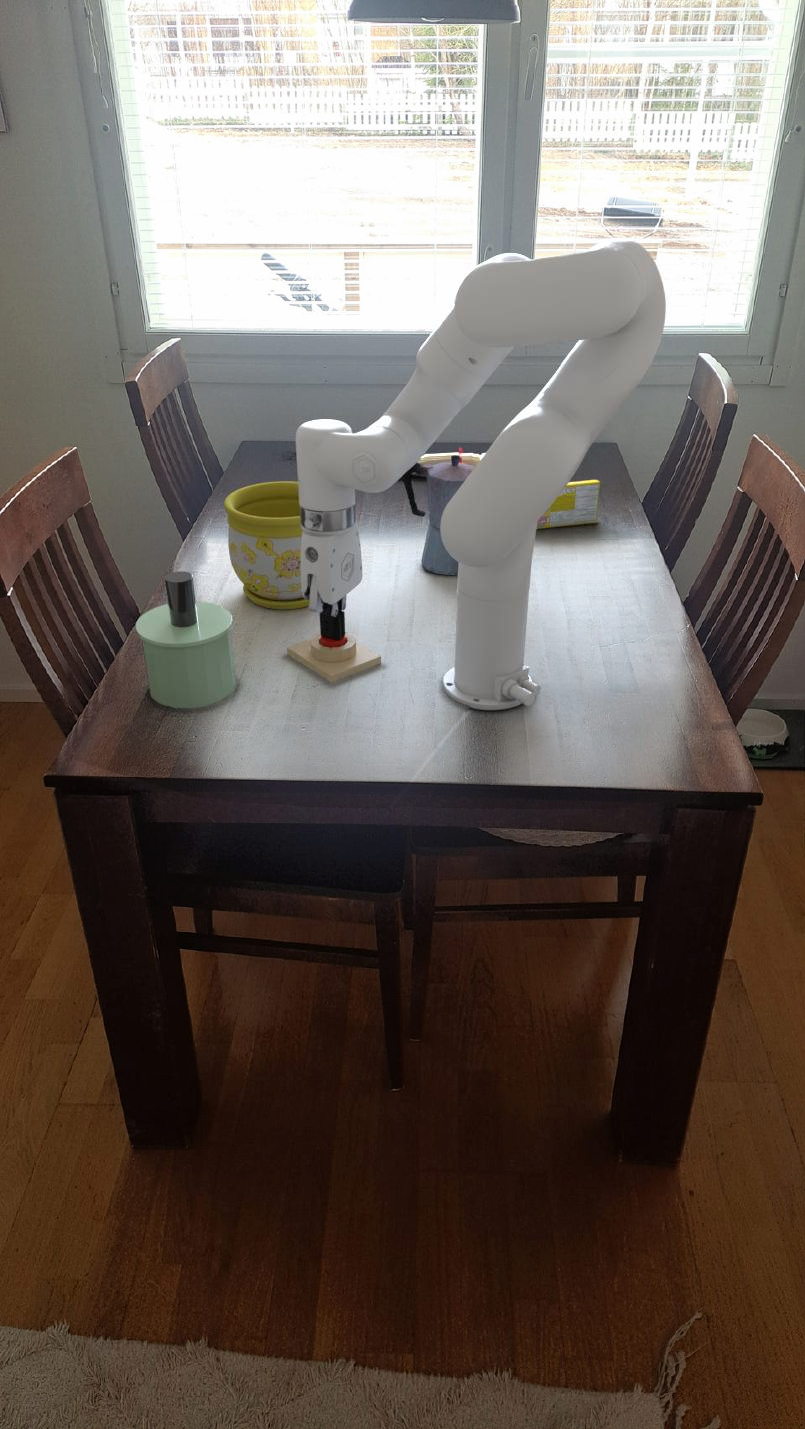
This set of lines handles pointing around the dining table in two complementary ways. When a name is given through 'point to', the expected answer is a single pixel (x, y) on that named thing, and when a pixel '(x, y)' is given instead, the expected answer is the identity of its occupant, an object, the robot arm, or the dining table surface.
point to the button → (332, 642)
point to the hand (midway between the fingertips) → (333, 636)
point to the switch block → (334, 657)
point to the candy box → (573, 506)
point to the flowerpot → (267, 543)
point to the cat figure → (446, 458)
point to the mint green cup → (190, 673)
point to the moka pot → (437, 508)
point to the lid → (183, 617)
